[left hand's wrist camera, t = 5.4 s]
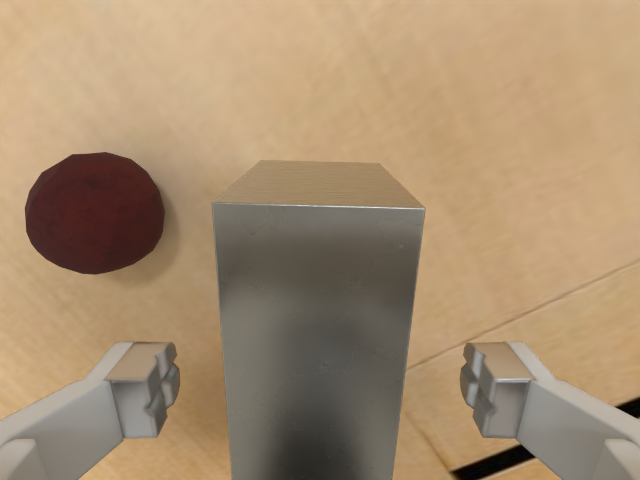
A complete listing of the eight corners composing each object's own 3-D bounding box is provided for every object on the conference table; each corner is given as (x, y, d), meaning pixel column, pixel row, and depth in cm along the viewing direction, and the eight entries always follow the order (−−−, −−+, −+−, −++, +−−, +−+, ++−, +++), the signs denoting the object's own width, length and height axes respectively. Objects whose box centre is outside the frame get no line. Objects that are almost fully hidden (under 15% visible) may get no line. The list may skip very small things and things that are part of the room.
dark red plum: (61, 220, 27) (-22, 257, 21) (96, 124, 25) (16, 131, 18) (156, 267, 29) (106, 316, 22) (197, 180, 26) (156, 205, 20)
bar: (260, 160, 19) (211, 201, 10) (380, 163, 19) (426, 207, 10) (270, 514, 27) (247, 694, 19) (352, 516, 27) (365, 697, 19)
